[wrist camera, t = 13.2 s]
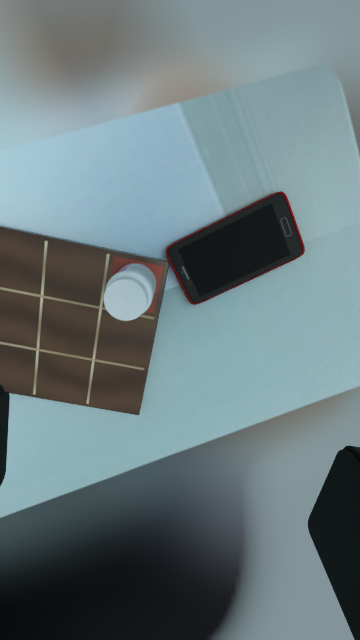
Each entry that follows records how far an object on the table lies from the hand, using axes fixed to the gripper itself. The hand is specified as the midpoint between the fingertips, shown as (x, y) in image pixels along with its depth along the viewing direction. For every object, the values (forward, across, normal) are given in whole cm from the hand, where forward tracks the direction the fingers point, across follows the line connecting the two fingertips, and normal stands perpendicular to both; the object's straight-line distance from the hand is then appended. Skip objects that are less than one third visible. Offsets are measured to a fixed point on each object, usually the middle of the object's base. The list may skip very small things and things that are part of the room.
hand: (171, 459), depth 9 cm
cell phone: (+30, -6, -4) cm, 31 cm away
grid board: (+30, +12, +9) cm, 34 cm away
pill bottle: (+29, +4, +2) cm, 30 cm away
